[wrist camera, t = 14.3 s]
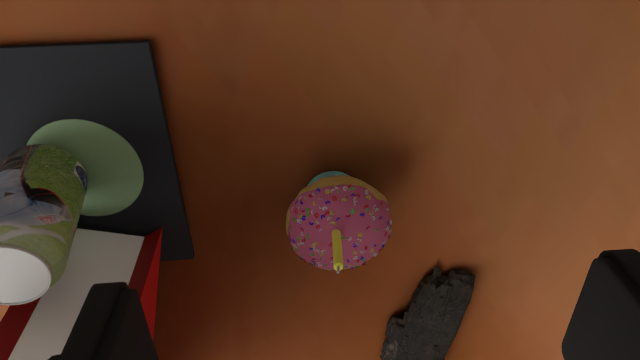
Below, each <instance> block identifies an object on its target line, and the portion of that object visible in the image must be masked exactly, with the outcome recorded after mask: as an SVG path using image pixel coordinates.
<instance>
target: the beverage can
mask: <svg viewBox="0 0 640 360" xmlns="http://www.w3.org/2000/svg"><path fill="white" fill-rule="evenodd" d="M88 180H89V179H88V174H87V171H86V169H85V167H84V166H83V164H82V163H81V162H80V161H79V160H78V159H77V158H76V157H75V156H74V155H72V154H71V153H69V152H67V151H65V150H63V149H61V148H58V147H55V146H51V145H43V144H33V145H27V146H24V147H21V148H18V149H16V150H14V151H13V152H12V153H10V154H9V155H8V156H7V157H6V159H5V160H4V162H3V163H2V165H1V167H0V305H20V304H25V303H28V302H31V301H34V300H36V299H38V298H40V297H41V296H42V295H44V294H45V293H46V291H47V290H48V289H49V288H50V287H52V286H53V285H55V284H56V283H57V281H58V280H59V279H60V278H61V277H62V275H63V273H64V271H65V268H66V264H67V260H68V257H69V253H70V249H71V246H72V242H73V239H74V235H75V231H76V228H77V224H78V220H79V217H80V213H81V209H82V206H83V202H84V199H85V195H86V191H87V188H88Z"/></svg>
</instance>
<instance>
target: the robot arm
mask: <svg viewBox="0 0 640 360" xmlns="http://www.w3.org/2000/svg"><path fill="white" fill-rule="evenodd" d="M562 354H563V357H564V359H565V360H640V252H638V251H637V250H634V249H623V250H608V251H603V252H602V253H600V255H599V257H598V258H596V259H594V260H593V262H592V264H591V266H590V269H589V272H588V274H587V277H586V280H585V282H584V285H583V288H582V290H581V293H580V296H579V299H578V301H577V304H576V307H575V309H574V312H573V315H572V317H571V320H570V323H569V325H568V328H567V331H566V333H565V336H564V339H563V342H562ZM48 360H158V357H157V354H156V350H155V347H154V344H153V340H152V337H151V334H150V330H149V327H148V324H147V320H146V317H145V314H144V310H143V307H142V304H141V301H140V297H139V294H138V291H137V290H136V289H135V288H133V289H129V287H128V285H127V283H126V282H112V283H96V284H94V285H92V287H91V289H90V290H89V293H88V295H87V297H86V299H85V302H84V304H83V306H82V308H81V310H80V313H79V315H78V317H77V319H76V322H75V324H74V326H73V328H72V330H71V333H70V335H69V337H68V339H67V342H66V344H65V346H64V348H63V350H62V353H61V354H59V355H54V356H51V357H50V358H49V359H48Z"/></svg>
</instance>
